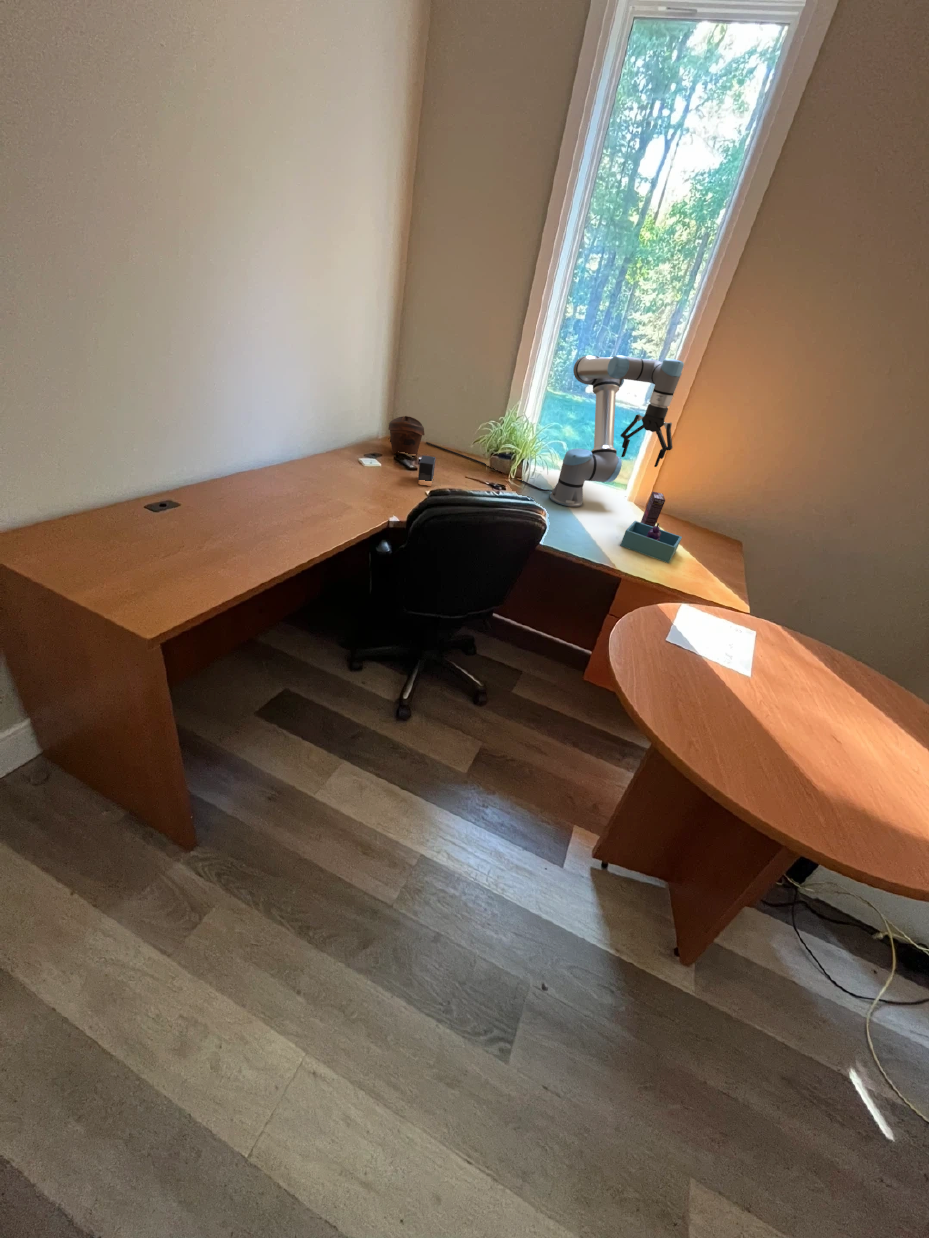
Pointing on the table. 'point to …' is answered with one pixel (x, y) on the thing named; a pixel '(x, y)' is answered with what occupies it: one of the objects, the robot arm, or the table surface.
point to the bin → (650, 542)
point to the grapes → (654, 533)
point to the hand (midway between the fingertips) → (639, 461)
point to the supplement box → (653, 509)
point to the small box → (426, 468)
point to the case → (405, 434)
